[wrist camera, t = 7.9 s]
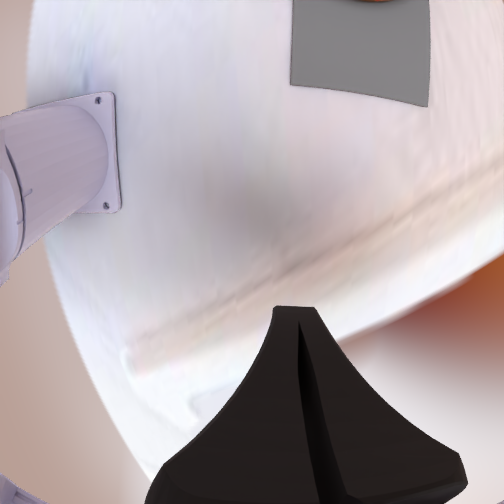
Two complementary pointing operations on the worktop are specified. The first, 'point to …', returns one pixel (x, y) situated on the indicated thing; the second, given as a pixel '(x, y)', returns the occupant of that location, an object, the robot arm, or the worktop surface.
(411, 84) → the mat
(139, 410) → the worktop surface
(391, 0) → the tin
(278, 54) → the worktop surface
